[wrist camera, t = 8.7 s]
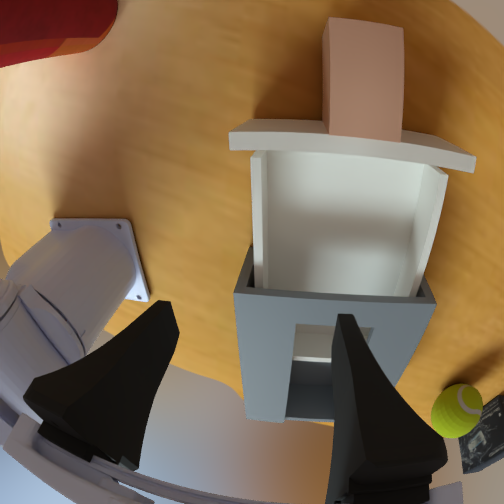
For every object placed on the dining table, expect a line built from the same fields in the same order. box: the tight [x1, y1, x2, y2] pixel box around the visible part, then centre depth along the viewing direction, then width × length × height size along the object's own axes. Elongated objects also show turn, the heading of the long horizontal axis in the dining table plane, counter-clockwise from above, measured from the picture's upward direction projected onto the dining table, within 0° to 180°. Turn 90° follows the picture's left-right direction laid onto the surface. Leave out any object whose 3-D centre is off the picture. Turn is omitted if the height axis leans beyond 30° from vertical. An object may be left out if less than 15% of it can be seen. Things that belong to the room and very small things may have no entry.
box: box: [458, 395, 504, 474], centre depth 25 cm, size 9×6×10 cm, turn 160°
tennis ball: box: [431, 383, 483, 438], centre depth 24 cm, size 7×7×7 cm
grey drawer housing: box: [233, 247, 437, 423], centre depth 22 cm, size 12×16×5 cm
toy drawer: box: [229, 17, 476, 362], centre depth 16 cm, size 11×21×5 cm, turn 3°
